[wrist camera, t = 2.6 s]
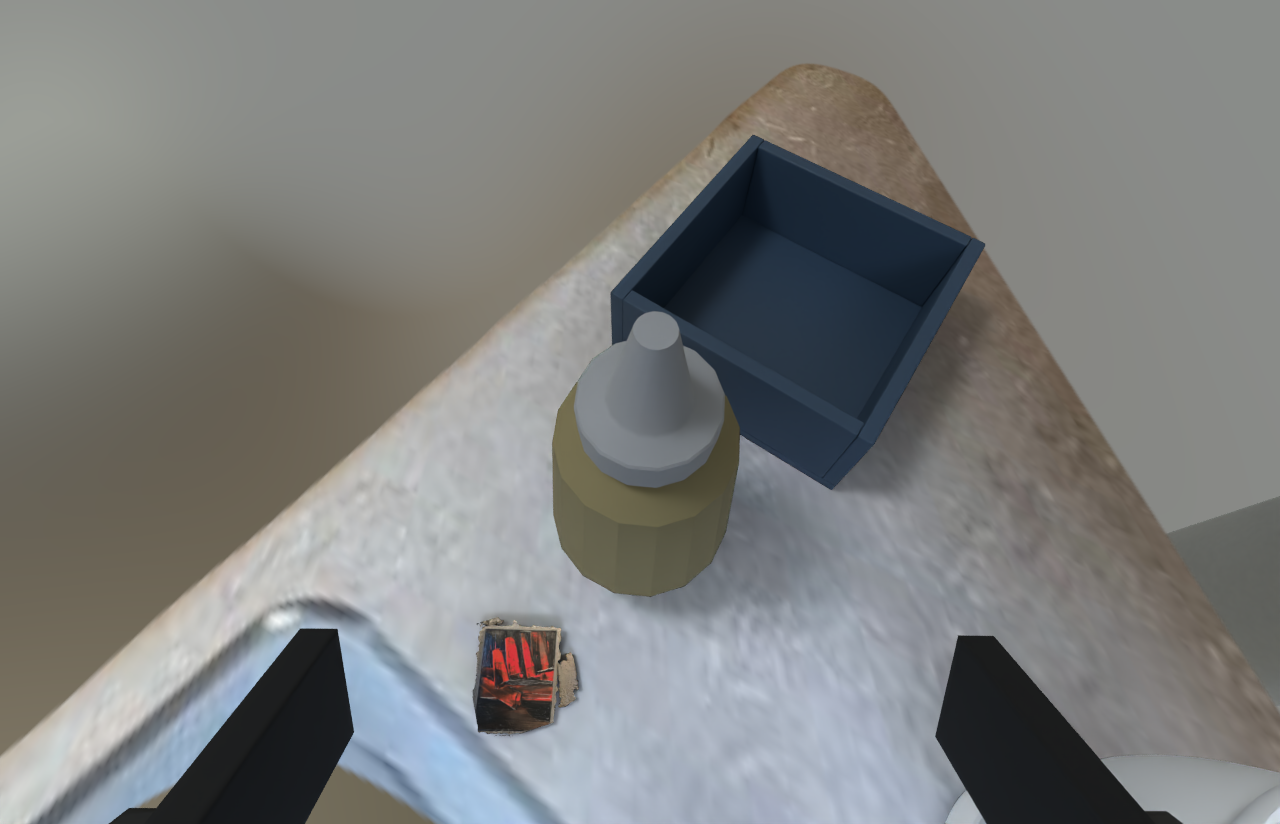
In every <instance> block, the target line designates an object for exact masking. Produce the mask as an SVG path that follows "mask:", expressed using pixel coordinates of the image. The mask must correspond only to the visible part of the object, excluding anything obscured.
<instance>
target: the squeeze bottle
mask: <svg viewBox="0 0 1280 824" xmlns="http://www.w3.org/2000/svg"><path fill="white" fill-rule="evenodd" d="M739 442H740V427H739V424H738V422H737V420H736V417H735V415H734V412H733V410H732V408H731V405H730V403H729V401H728V398H727V396H726V395H725V393H724V391H723V389H722V386H721V384H720V382H719V379H718V377H717V374H716V372H715V370H714V369H713V368H712V367H711V366H710V365H709V364H708V363H707V362H706V361H705V360H704V359H703V358H702V357H701V356H700V355H699V354H698V353H697V352H696V351H694V350H692V349H690V348H688V347H685V346H683V343H682V339H681V335H680V330H679V327H678V325H677V322H676V321H675V320H674V319H673V318H672V317H671V316H670V315H668V314H665V313H663V312H656V311H652V312H648V313H645V314H643V315H642V316H640V317H639V318H638V319H637V320H636V322H635V323H634V325H633V327H632V330H631V332H630V334H629V337H628V339H627V341H624V342H620V343H615V344H614V345H612V346H611V347H609V348H608V349H606V350H605V351H603V352H602V353H600V354H599V355H597V356H596V357H594V358H593V359H592V360H591V362H590V363H589V365H588V366H587V368H586V369H585V371H584V372H583V374H582V375H581V377H580V378H579V380H578V382H577V383H576V384H575V386H574V387H573V388H572V390H571V391H570V393H569V394H568V396H567V397H566V399H565V400H564V402H563V403H562V405H561V406H560V408H559V409H558V413H557V419H556V425H555V430H554V436H553V442H552V456H553V515H554V519H555V523H556V527H557V531H558V535H559V539H560V543H561V547H562V549H563V550H564V552H565V553H566V554H567V556H568V557H569V558H570V559H571V561H572V562H573V563H574V565H575V566H576V567H577V569H578V570H579V571H580V572H581V574H582V575H583V576H585V577H586V578H588V579H590V580H592V581H594V582H595V583H597V584H599V585H601V586H603V587H604V588H606V589H608V590H610V591H612V592H613V593H619V594H629V595H639V596H649V597H651V596H654V595H657V594H661V593H664V592H667V591H670V590H673V589H677V588H680V587H683V586H685V585H686V584H688V583H689V582H690V581H691V580H692V579H693V578H694V577H696V576H697V575H698V574H699V573H700V572H701V571H703V570H704V569H705V568H706V567H707V566H708V565H709V564H711V562H712V560H713V558H714V556H715V554H716V552H717V550H718V548H719V545H720V543H721V541H722V539H723V537H724V535H725V533H726V528H727V523H728V517H729V512H730V507H731V501H732V496H733V491H734V486H735V480H736V475H737V470H738V464H739Z"/></svg>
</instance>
